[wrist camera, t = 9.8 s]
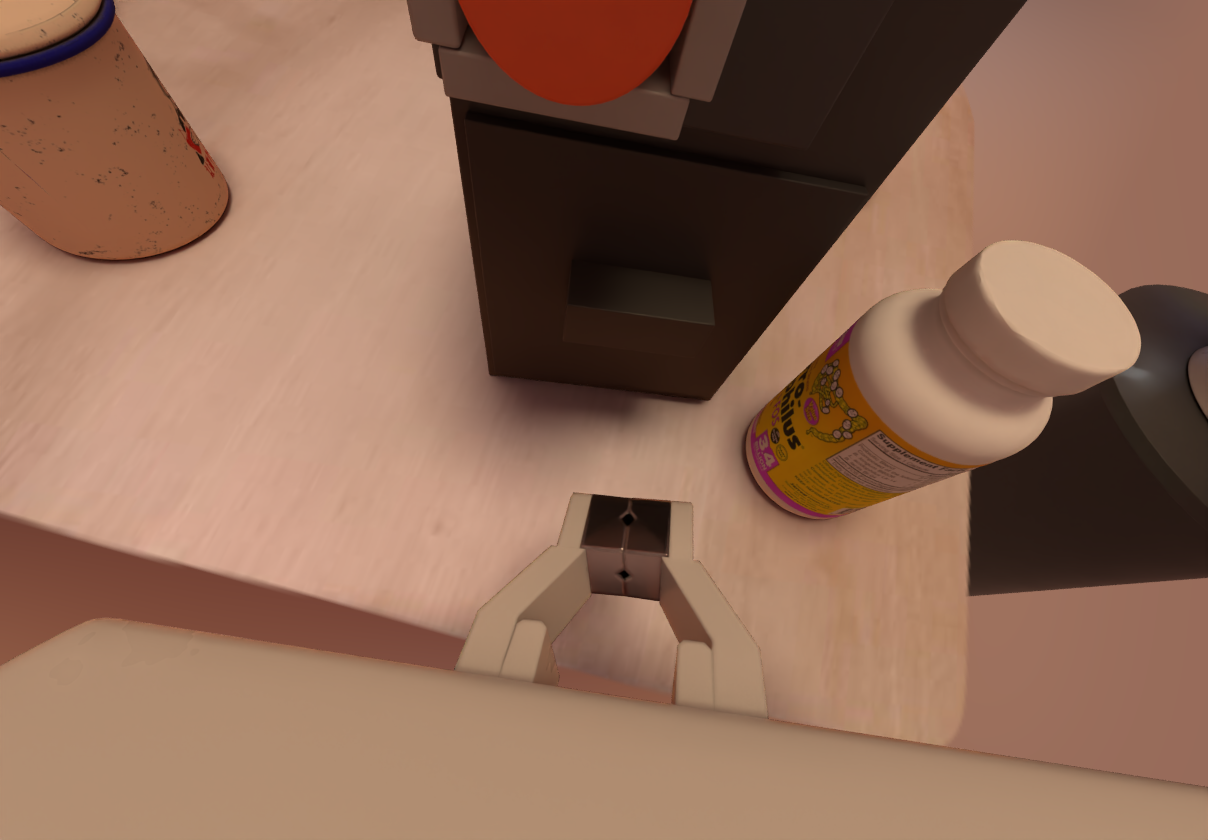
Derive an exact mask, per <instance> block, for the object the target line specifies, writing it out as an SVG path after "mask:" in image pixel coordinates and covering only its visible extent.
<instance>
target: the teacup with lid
mask: <svg viewBox="0 0 1208 840" xmlns="http://www.w3.org/2000/svg"><path fill="white" fill-rule="evenodd" d="M227 201H228V186H227V183H226V180H225V178H224V176H223V174H222V173H221V171H220V170H219V168H218V167H217V165H216V164H215V162H214V161H213V159H212V158H211V156H210V155H209V153H208V152H207V150H206V149H205V147H204V146H203V144H202V143H201V141H200V140H199V138H198V137H197V135H196V134H195V132H194V131H193V129H192V128H191V126H190V125H189V123H188V122H187V120H186V119H185V117H184V116H183V114H182V113H181V111H180V110H179V108H178V107H177V105H176V104H175V102H174V101H173V99H172V98H171V96H170V95H169V93H168V92H167V90H166V89H165V87H164V86H163V84H162V83H161V81H160V80H159V78H158V77H157V75H156V74H155V72H154V71H153V69H152V68H151V66H150V65H149V63H148V62H147V60H146V59H145V57H144V56H143V54H142V53H141V51H140V50H139V48H138V47H137V45H136V44H135V42H134V41H133V39H132V38H131V36H130V35H129V33H128V32H127V30H126V29H125V27H124V26H123V24H122V23H121V21H120V20H119V18H118V17H117V15H116V14H115V5H114V1H113V0H0V205H1V206H2V207H4V208H5V209H6V210H7V211H9V212H10V213H11V214H12V215H13V216H15V217H16V218H17V219H18V220H20V221H21V222H22V223H23V224H25V225H26V226H27V227H28V228H29V229H31V230H32V231H33V232H34V233H36V234H37V235H38V236H39V237H41V238H42V239H43V240H45V241H46V242H48V243H49V244H51V245H53V246H54V247H57V248H59V249H61V250H63V251H66V252H69V253H72V254H75V255H79V256H84V257H89V258H96V259H110V260H120V259H134V258H141V257H147V256H152V255H156V254H160V253H164V252H167V251H170V250H173V249H175V248H178V247H180V246H183V245H185V244H187V243H189V242H191V241H193V240H194V239H196V238H198V237H199V236H201V235H202V234H204V233H205V232H206V231H208V230H209V229H210V228H211V227H212V226H213V225H214V224H215V223H216V222H217V221H218V220H219V218H220V217H221V215H222V214H223V212H224V210H225V207H226V205H227Z"/></svg>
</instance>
